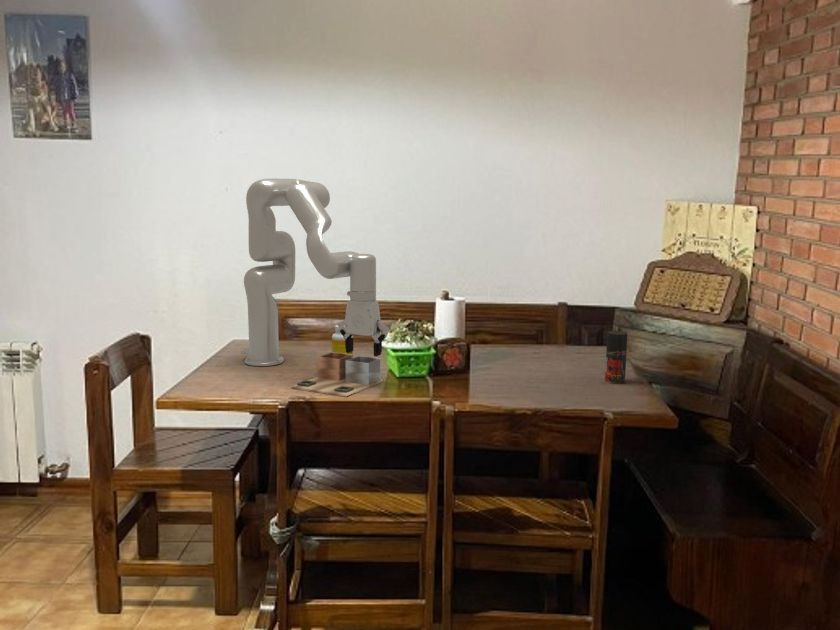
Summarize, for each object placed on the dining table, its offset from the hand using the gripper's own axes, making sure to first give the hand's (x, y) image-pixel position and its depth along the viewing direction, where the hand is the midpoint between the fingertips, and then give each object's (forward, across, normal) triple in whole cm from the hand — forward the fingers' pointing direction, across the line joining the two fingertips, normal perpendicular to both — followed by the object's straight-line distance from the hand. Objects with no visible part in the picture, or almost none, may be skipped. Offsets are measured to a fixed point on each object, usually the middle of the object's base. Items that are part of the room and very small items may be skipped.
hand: (363, 353), depth 240 cm
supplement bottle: (+9, -18, +16) cm, 26 cm away
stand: (+9, -5, -6) cm, 12 cm away
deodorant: (+9, +65, +39) cm, 76 cm away
